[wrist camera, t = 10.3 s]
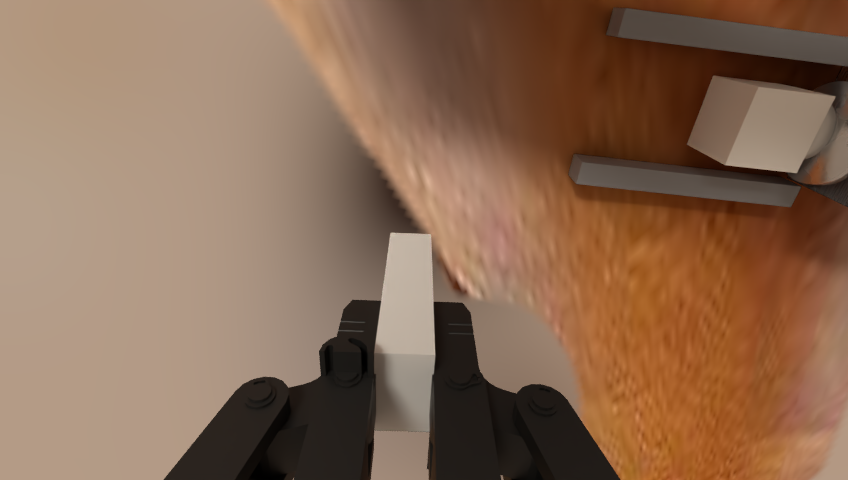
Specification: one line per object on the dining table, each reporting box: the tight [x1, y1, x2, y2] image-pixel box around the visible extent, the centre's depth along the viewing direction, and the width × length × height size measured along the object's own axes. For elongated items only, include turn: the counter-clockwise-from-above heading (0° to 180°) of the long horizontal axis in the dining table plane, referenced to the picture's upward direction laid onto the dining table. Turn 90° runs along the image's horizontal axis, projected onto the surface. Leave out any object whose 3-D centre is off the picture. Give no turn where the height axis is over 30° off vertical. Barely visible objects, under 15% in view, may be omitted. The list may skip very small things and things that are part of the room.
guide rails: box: [568, 8, 848, 207], centre depth 39 cm, size 14×20×2 cm
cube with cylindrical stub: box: [687, 75, 836, 173], centre depth 38 cm, size 6×8×6 cm
